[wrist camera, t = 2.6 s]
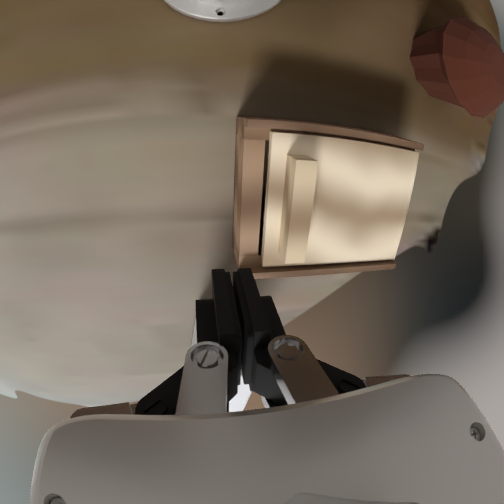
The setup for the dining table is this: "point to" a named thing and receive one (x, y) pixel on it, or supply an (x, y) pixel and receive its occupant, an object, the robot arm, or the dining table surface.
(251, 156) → the walnut box
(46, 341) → the dining table surface
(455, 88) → the muffin
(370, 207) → the lid
